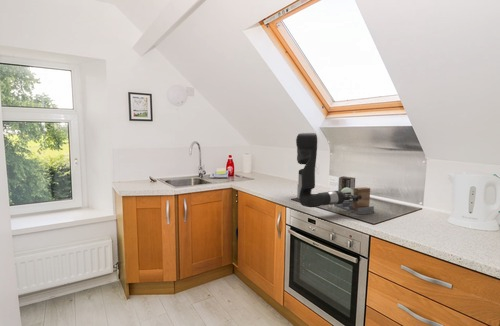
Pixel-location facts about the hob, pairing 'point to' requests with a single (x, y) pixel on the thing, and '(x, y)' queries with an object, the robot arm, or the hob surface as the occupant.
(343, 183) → the coffee box
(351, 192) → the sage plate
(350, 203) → the dish rack
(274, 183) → the hob surface
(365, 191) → the walnut board
